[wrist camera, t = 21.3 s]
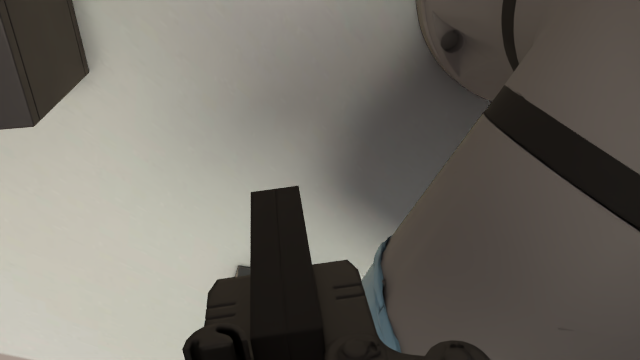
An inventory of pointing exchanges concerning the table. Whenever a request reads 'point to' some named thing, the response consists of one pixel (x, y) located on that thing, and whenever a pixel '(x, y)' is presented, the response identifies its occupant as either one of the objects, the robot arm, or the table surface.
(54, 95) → the cabinet
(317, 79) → the table surface
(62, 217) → the table surface
